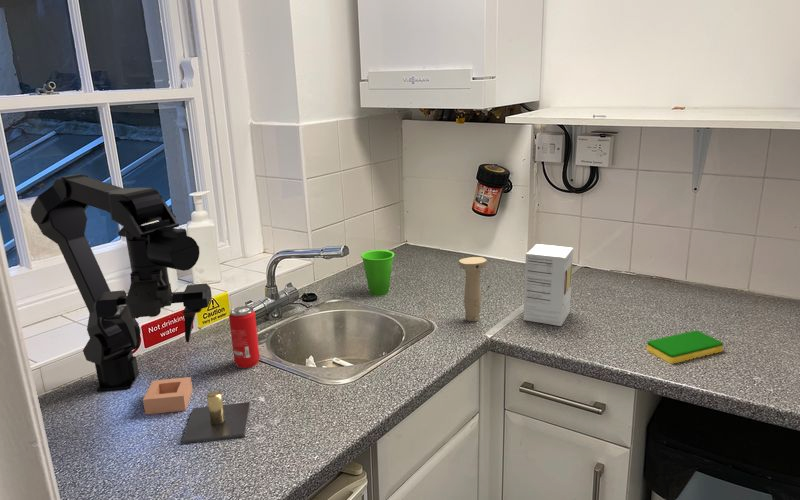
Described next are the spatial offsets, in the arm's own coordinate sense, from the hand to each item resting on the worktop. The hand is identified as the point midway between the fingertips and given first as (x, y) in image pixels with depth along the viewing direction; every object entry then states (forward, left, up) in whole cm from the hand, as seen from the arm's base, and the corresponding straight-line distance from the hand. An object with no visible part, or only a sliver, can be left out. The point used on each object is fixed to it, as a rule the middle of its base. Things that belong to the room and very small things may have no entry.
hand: (161, 344), depth 107 cm
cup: (+45, +48, -12) cm, 67 cm away
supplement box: (+83, +23, -12) cm, 87 cm away
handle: (+65, +25, -12) cm, 71 cm away
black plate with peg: (+10, -9, -12) cm, 18 cm away
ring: (0, 0, -12) cm, 12 cm away
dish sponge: (+104, 0, -13) cm, 105 cm away
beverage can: (+13, +13, -12) cm, 22 cm away
